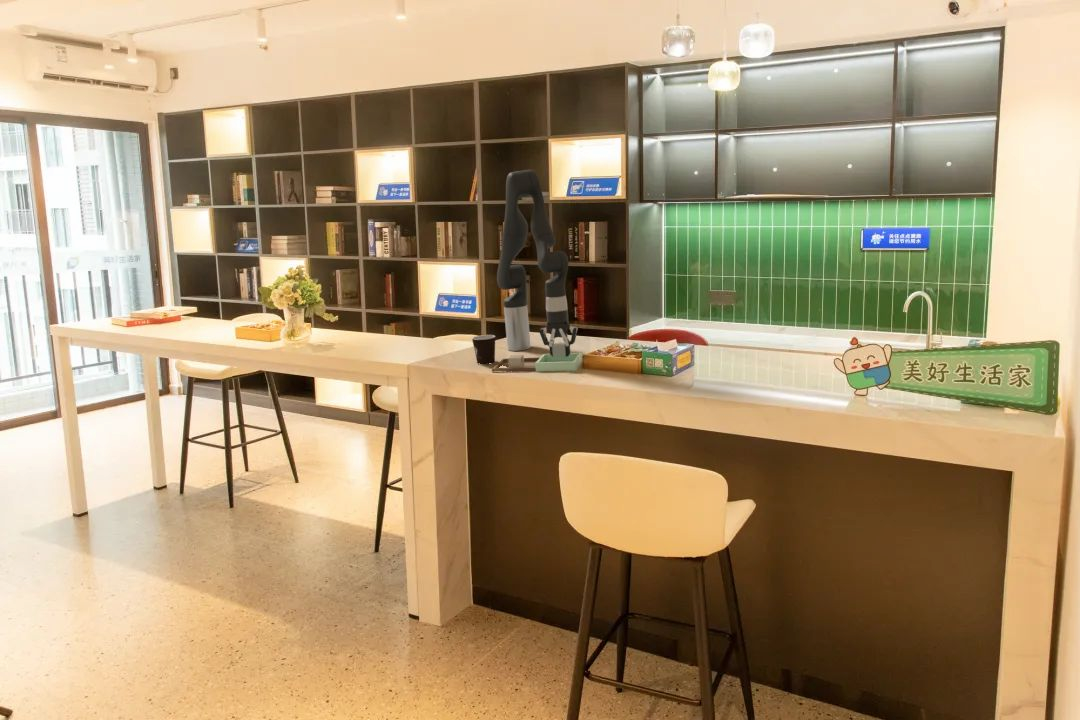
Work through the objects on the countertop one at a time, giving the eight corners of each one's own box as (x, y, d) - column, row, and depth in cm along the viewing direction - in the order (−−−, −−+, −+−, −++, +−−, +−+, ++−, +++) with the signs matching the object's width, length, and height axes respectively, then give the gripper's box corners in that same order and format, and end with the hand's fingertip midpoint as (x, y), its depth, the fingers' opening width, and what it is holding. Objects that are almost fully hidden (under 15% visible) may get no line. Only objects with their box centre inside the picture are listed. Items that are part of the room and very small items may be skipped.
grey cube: (555, 355, 296) (554, 342, 295) (567, 354, 295) (566, 342, 294) (553, 358, 292) (552, 345, 291) (565, 357, 291) (564, 345, 290)
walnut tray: (503, 362, 306) (503, 358, 306) (546, 361, 303) (545, 357, 302) (492, 373, 291) (491, 369, 291) (536, 372, 288) (536, 367, 287)
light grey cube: (512, 367, 296) (511, 355, 295) (524, 367, 295) (523, 354, 294) (509, 370, 291) (508, 358, 290) (521, 370, 290) (520, 357, 289)
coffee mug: (496, 365, 303) (494, 338, 301) (473, 367, 303) (470, 340, 301) (499, 358, 314) (496, 332, 312) (476, 360, 315) (473, 334, 313)
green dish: (544, 363, 300) (543, 354, 299) (582, 362, 297) (581, 352, 296) (535, 372, 287) (535, 363, 286) (575, 371, 283) (574, 361, 283)
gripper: (578, 306, 292) (581, 353, 296) (539, 307, 295) (543, 354, 299) (575, 309, 285) (578, 358, 289) (534, 311, 288) (538, 359, 292)
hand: (560, 356), depth 294 cm, fingers closed on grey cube, 4 cm apart
